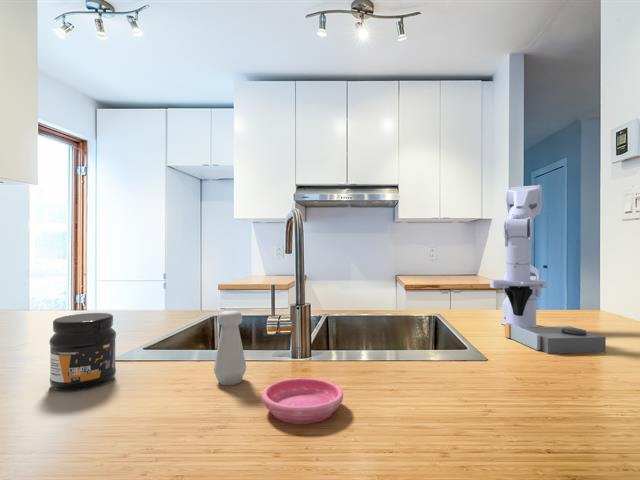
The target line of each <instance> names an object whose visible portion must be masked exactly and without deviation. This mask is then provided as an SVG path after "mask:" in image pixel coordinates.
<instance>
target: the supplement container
mask: <svg viewBox="0 0 640 480" xmlns="http://www.w3.org/2000/svg"><path fill="white" fill-rule="evenodd" d="M113 325H114V315H113V314H111V313H107V312H89V313H87V312H86V313H78V314H70V315H65V316H64V315H63V316H61V317H57V318H55V319H53V321H52V332H53V333H54V334H53V335H52V336H51V337H50V339H49V346H50V347H49V349H50V351H49V352H50V354H49V357H50V358H49V359H50V363H49V364H50V366H49V369H50V370H49V371H50V373H49V374H50V377H49V384H50V386H51V387H52V388H53V389H55V390H58V391H61V392H76V391H84V390H89V389H94V388H96V387H100V386H102V385H105V384H107V383H109V382H110V381H111V380H113V378H114V377H115V376H116V373H117V368H116V339H117V332H116V331H115V330H114V328H113V327H112V326H113Z"/></svg>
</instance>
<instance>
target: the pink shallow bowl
mask: <svg viewBox="0 0 640 480" xmlns="http://www.w3.org/2000/svg"><path fill="white" fill-rule="evenodd" d="M343 399H344V392H343V389H342V388H341V386H339V385H337V384H336V383H334V382H331V381H329V380H325V379H324V380H323V379H319V378H314V377H313V378H312V377H293V378H286V379H282V380H278V381H275V382H273V383H271V384H269V385H267V386H266V387H265V388H264V389H263V390H262V393H261V400H262V404H263V405H264V406H265V408H266V409H267V410H268V411H269V412H270V413H271V414H272V415H273V417H274V418H276V419H277V420H279V421H281V422H283V423H287V424H294V425H309V424H314V423H315V424H316V423H320V422H323V421H325V420H327V419H328V418H330V417H331V416H332V415H333V413H334V412H335V411H336V410H337V409H338V408H339V406H340V405H341V404H342V402H343Z"/></svg>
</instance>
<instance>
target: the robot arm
mask: <svg viewBox="0 0 640 480" xmlns="http://www.w3.org/2000/svg"><path fill="white" fill-rule="evenodd" d="M542 195H543V187H542V186H541V184H537V185H522V186H521V185H520V186H508V187H506V191H505V202H506V208H507V209H506V210H507V213H508V216H507V220H504V222H503V236H504V247H505V271H504V276H503V279H490V280H489V288H491V289H503V293H504V294H505V295H506V297H505V299H504V300H503V304H502V321H500V324H501V325H504V326H505V323H510V324H512V325H515V326H518V327H540V326H538V325H537V298H540V297H541V296H542V289H546V288H547V280H546V279H545V280H544V279H542V275H541V274H542V272H540V270H539V269H538V268H536V267H535V266H533V265H532V237H533V222H534V219H535V217H537V216H539V215H541V211H542V201H543V196H542Z"/></svg>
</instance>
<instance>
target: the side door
mask: <svg viewBox="0 0 640 480" xmlns="http://www.w3.org/2000/svg"><path fill="white" fill-rule="evenodd" d="M504 337H506V338H508V339H512V340H514V341H516V342H517V343H518V342H519V344H523V345H524V346H527V347H530V348H531V349H534V350H535V351H541V350H540V335H539V334H536V333H533V332H531V331H528V330H526V329H523V328H520V327H518V326H515V325H512V324H510V323H505V325H504Z"/></svg>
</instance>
